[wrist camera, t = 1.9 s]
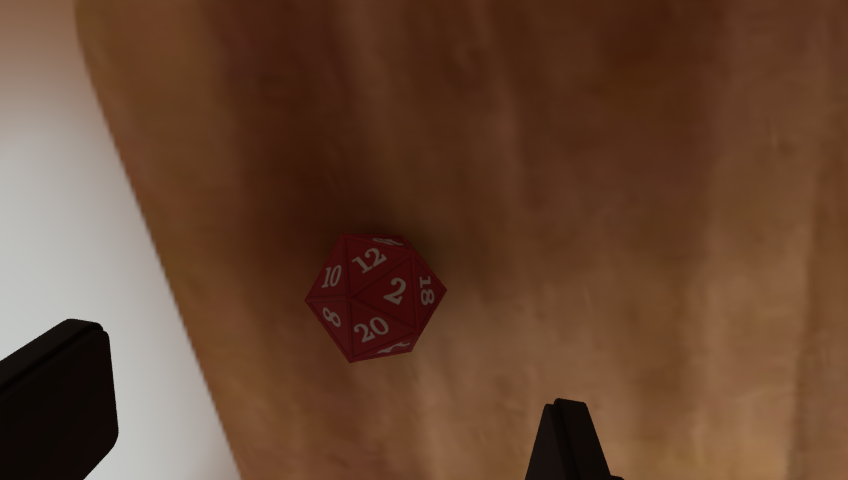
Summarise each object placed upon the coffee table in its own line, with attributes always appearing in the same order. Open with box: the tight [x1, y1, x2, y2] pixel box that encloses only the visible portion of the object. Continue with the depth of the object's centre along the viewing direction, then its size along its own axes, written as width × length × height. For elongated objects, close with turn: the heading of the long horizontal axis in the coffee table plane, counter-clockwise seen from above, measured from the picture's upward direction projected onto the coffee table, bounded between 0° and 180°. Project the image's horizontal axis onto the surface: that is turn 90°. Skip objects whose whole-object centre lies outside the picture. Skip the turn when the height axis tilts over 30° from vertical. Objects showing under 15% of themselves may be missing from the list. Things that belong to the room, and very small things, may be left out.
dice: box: [304, 233, 447, 363], centre depth 15 cm, size 4×4×4 cm
